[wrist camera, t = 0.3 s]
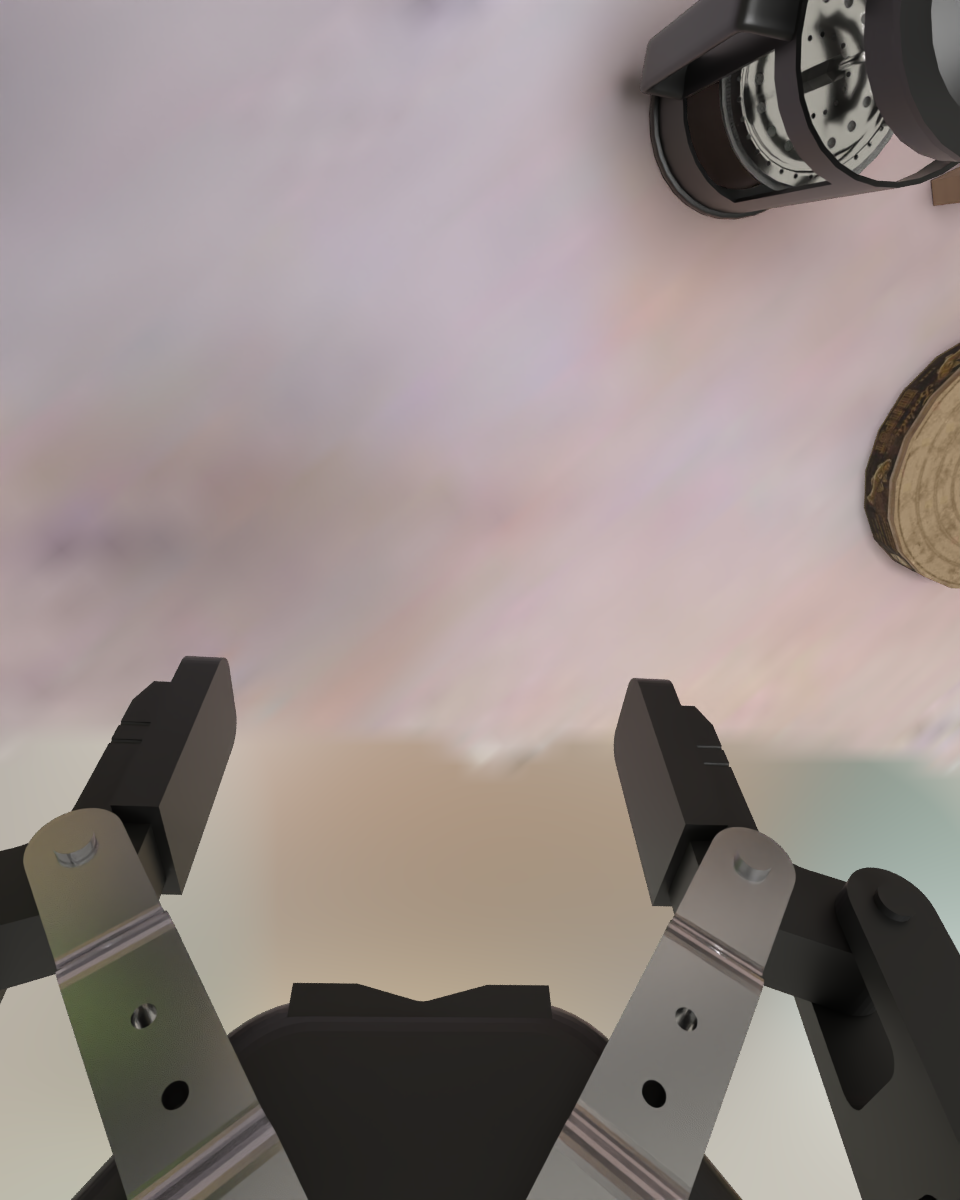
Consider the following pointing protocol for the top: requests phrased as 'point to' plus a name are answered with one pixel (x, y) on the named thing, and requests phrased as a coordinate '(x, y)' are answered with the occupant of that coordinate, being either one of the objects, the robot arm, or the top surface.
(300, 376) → the top surface
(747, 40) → the french press
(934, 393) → the wood slice
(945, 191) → the docking bay
